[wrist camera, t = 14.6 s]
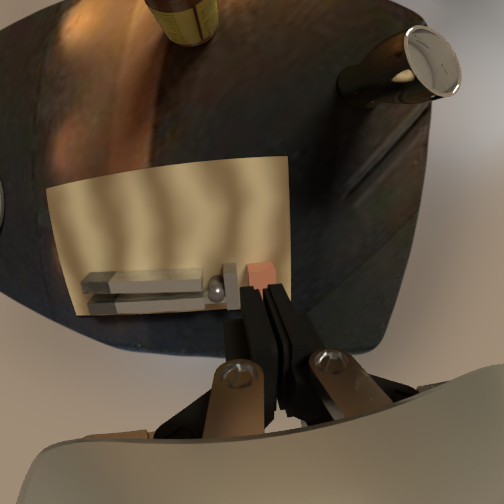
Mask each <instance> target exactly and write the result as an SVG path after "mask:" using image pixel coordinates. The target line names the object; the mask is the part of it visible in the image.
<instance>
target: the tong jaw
mask: <svg viewBox="0 0 504 504" xmlns="http://www.w3.org/2000/svg"><path fill="white" fill-rule="evenodd" d="M203 282H204V277H203V268H195V269H172V270H148V271H122V272H117V271H111V272H90V273H89V274H88V275H87V276H86V277H85V278H84V279H83V280H82V281H81V282H80V283H81V287H82V291H83V294H111V293H163V292H193V291H202V288H203Z"/></svg>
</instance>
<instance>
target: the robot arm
mask: <svg viewBox="0 0 504 504" xmlns="http://www.w3.org/2000/svg"><path fill="white" fill-rule="evenodd" d="M3 216H4V194H3V188H2V184H1V181H0V228H1V225H2V221H3ZM239 291H240V307H241V319H232V320H223V325H224V340H225V354H226V362H225V363H223V364H222V365H220V366H219V367H218V368H217V369H216V372H215V374H214V379H213V384H212V388H211V389H210V390H209V391H208V392H206V393H205V394H204V395H202V396H201V397H200V398H198V399H197V400H196V401H194V402H193V403H192V404H190V405H189V406H188V407H186V408H185V409H183V410H182V411H180V412H179V413H178V414H176V415H175V416H173V417H172V418H171V419H169V420H168V421H166V422H165V423H163V424H162V425H161V426H160V427H159V428H158V429H157V430H156V431H155V432H147V430H139V431H130V432H121V433H110V434H96V435H89V436H85V437H84V438H81V439H74V440H68V441H63V442H59V443H56V444H53V445H51V446H49V447H47V448H45V449H43V450H42V451H41V452H40V453H39V454H38V455H37V457H36V458H35V459H34V461H33V463H32V464H31V466H30V468H29V470H28V472H27V474H26V476H25V479H24V481H23V484H22V487H21V490H20V493H19V496H18V499H17V503H16V504H504V364H499V365H491V366H488V367H483V368H480V369H477V370H475V371H472V372H469V373H467V374H465V375H462V376H460V377H457V378H455V379H453V380H450V381H446V382H440V383H435V384H429V385H423V386H418V387H417V389H416V390H415V389H414V388H412V387H410V386H407V385H404V384H401V383H397V382H393V381H390V380H387V379H384V378H380V377H377V376H374V375H371V374H368V373H367V372H366V371H365V370H364V369H363V368H362V367H361V365H360V364H359V363H358V362H357V361H356V360H355V359H354V358H353V357H352V355H350V354H349V353H348V352H347V351H344V350H342V349H339V348H332V347H327V348H325V346H324V345H323V343H322V341H321V339H320V337H319V335H318V333H317V332H316V330H315V328H314V326H313V324H312V322H311V321H310V319H309V317H308V315H307V314H306V312H300V313H296V311H295V309H294V307H293V305H292V303H291V301H290V299H289V297H288V295H287V293H286V291H285V289H284V287H283V285H282V283H278V284H268V286H267V288H263V300H262V297H261V294H260V290H259V289H254V286H244V287H239ZM277 400H278V404H279V408H280V410H286V413H287V417H293V416H294V417H296V418H298V419H300V420H301V425H302V428H296V429H290V430H285V431H278V432H271V433H264V429H265V428H266V427H267V426H268V425H269V424H270V423H271V422H272V420H273V419H274V411H276V402H277Z"/></svg>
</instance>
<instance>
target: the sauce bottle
mask: <svg viewBox="0 0 504 504" xmlns="http://www.w3.org/2000/svg"><path fill="white" fill-rule="evenodd" d="M145 3H146V4H147V6H148V7H149V9H150V10H151V12H152V13H153V15H154V17H155V18H156V20H157V21H158V23H159V24H160V26H161V28H162V29H163V31H164V32H165V34H166V36H167V37H168V38H169V39H170V40H171V41H173V42H175V43H176V44H178V45H181V46H183V47H193V46H197V45H200V44H203V43H206V42H207V41H209V40H210V39H211V38H212V37H213V35H214V34H215V32H216V30H217V28H218V12H217V4H216V0H145Z"/></svg>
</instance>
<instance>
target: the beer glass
mask: <svg viewBox="0 0 504 504" xmlns="http://www.w3.org/2000/svg"><path fill="white" fill-rule="evenodd" d="M460 84H461V69H460V65H459V62H458V59H457V57H456V54H455V53H454V51H453V49H452V48H451V46H450V45H449V43H448V42H447V41H446V40H445V39H444V38H443V37H442V36H441V35H440V34H439V33H437V32H436V31H434V30H433V29H431V28H428V27H426V26H420V25H418V26H413V27H411V28H409V29H407V30H404V31H401V32H399V33H396V34H394V35H392V36H390V37H388V38H386V39H384V40H383V41H381V42H380V43H378V44H377V45H376V46H375V47H374V48H373V49H372V50H371V51H370V52H369V53H368V54H367V56H366V57H365V58H364V59H363V60H362V61H361V63H359V64H357V65H352V66H348V67H346V68H345V69H343V70H342V71H341V73H340V74H339V77H338V90H339V92H340V95H341V96H342V98H343V99H344V101H345V102H346V103H347V104H349V105H350V106H351V107H353V108H355V109H359V110H369V109H372V108H374V107H376V106H377V105H378V104H380V103H390V104H409V105H410V104H419V103H425V102H430V101H433V100H437V99H440V98H444V97H450V96H452V95H454V94H455V93H456V92H457V91H458V89H459V87H460Z"/></svg>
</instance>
